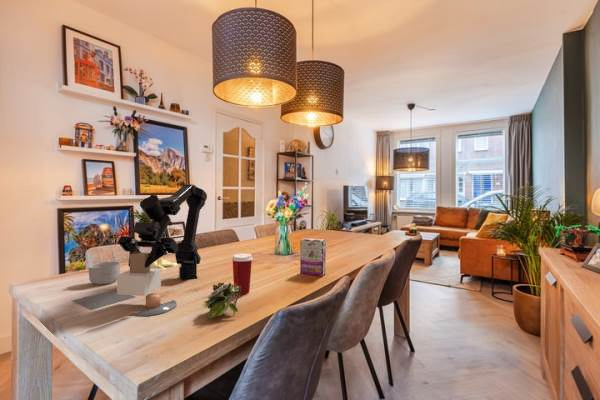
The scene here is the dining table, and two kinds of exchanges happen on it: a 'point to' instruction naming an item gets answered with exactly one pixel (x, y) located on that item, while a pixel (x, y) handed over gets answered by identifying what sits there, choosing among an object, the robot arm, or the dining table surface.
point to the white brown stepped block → (138, 277)
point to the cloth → (162, 264)
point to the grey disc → (156, 306)
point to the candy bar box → (313, 256)
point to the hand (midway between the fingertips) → (137, 266)
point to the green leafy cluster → (221, 299)
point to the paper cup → (242, 272)
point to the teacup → (104, 272)
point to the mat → (102, 299)
